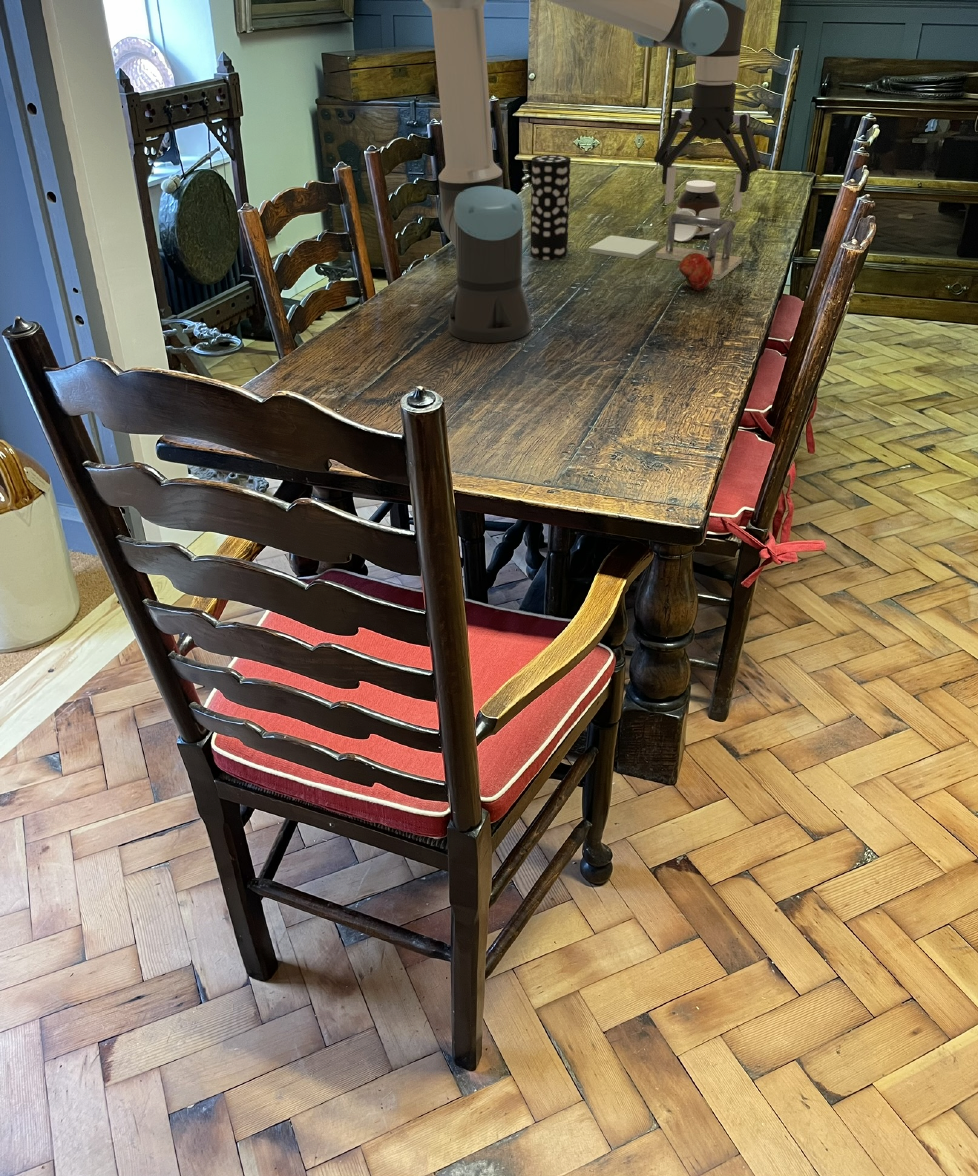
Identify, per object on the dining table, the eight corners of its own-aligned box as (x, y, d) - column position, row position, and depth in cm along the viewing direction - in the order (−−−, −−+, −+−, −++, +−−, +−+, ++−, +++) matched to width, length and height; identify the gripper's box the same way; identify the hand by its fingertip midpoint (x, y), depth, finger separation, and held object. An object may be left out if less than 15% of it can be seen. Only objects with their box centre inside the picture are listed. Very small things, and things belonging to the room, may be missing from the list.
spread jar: (715, 231, 225) (721, 180, 218) (719, 244, 216) (726, 190, 209) (664, 231, 226) (669, 179, 219) (667, 243, 217) (672, 190, 210)
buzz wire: (719, 280, 193) (725, 235, 188) (639, 268, 201) (642, 224, 196) (742, 262, 204) (748, 218, 198) (665, 251, 211) (669, 209, 206)
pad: (637, 259, 206) (637, 254, 206) (588, 252, 211) (588, 247, 211) (658, 246, 215) (658, 241, 214) (610, 239, 220) (610, 235, 219)
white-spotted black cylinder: (564, 260, 206) (568, 163, 195) (527, 259, 207) (528, 162, 196) (569, 250, 213) (573, 155, 201) (533, 249, 214) (535, 154, 203)
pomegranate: (684, 306, 187) (728, 275, 183) (664, 276, 184) (708, 244, 181) (680, 299, 193) (722, 268, 190) (660, 270, 191) (702, 238, 187)
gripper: (790, 82, 165) (771, 208, 177) (658, 76, 175) (649, 195, 188) (778, 88, 160) (759, 217, 172) (642, 81, 170) (634, 203, 182)
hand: (702, 206), depth 180 cm, fingers open, 13 cm apart
